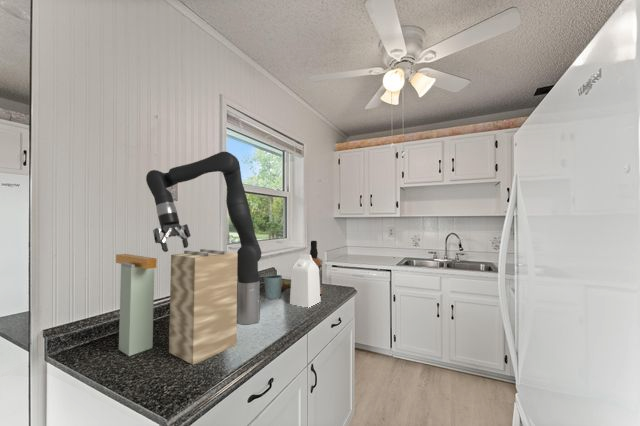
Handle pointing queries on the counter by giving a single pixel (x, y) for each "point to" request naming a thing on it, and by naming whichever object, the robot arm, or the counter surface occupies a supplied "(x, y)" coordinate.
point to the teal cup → (273, 286)
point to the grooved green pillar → (136, 309)
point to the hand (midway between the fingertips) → (176, 249)
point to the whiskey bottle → (317, 261)
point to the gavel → (285, 285)
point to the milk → (305, 282)
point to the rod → (137, 260)
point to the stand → (202, 304)
